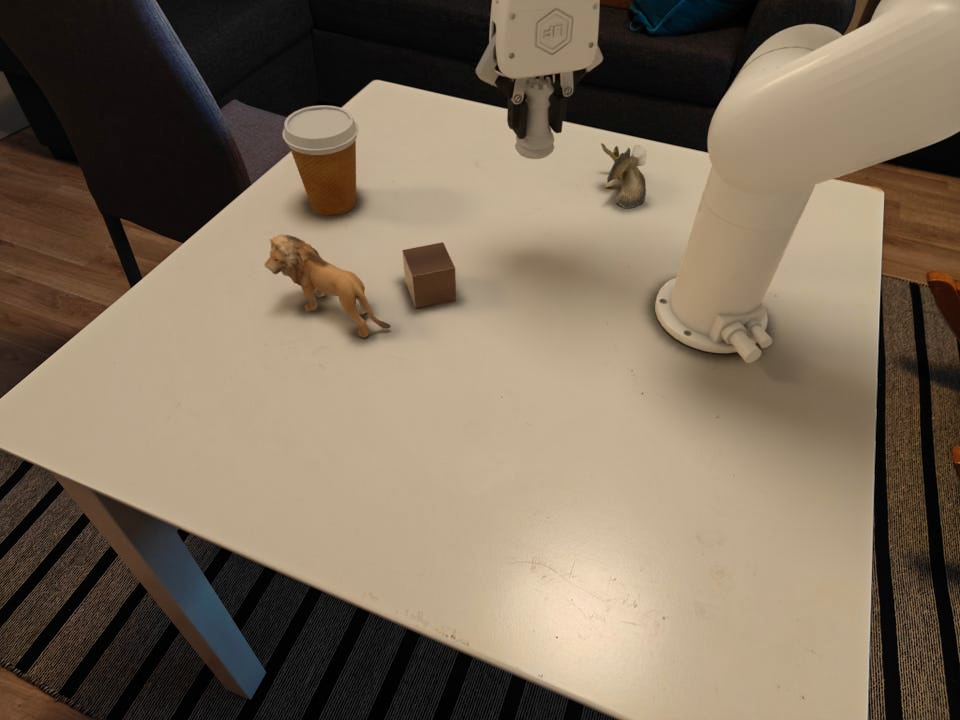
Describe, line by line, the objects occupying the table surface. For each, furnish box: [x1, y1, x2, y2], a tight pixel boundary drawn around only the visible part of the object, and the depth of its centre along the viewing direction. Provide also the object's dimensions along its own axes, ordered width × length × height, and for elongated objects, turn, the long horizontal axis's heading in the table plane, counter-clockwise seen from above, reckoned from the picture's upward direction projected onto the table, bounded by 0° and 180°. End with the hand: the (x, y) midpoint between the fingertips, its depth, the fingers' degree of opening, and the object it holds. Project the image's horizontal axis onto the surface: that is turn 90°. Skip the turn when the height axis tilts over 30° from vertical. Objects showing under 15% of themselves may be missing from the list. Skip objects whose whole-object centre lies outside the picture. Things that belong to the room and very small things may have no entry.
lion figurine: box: [264, 233, 391, 339], centre depth 72 cm, size 15×5×9 cm, turn 66°
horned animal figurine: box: [600, 142, 647, 209], centre depth 91 cm, size 8×7×9 cm
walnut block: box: [401, 242, 457, 310], centre depth 76 cm, size 5×5×5 cm
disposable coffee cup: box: [282, 104, 359, 216], centre depth 86 cm, size 10×10×12 cm
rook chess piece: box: [514, 75, 555, 160], centre depth 70 cm, size 4×4×8 cm
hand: (535, 128), depth 71 cm, fingers closed on rook chess piece, 3 cm apart
